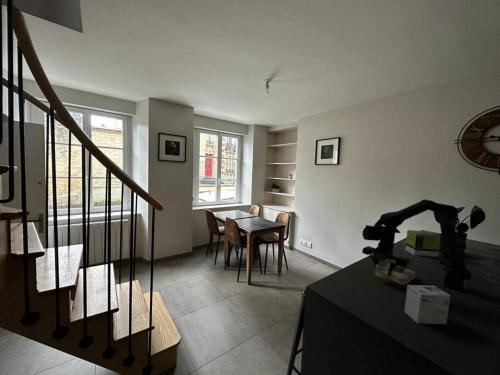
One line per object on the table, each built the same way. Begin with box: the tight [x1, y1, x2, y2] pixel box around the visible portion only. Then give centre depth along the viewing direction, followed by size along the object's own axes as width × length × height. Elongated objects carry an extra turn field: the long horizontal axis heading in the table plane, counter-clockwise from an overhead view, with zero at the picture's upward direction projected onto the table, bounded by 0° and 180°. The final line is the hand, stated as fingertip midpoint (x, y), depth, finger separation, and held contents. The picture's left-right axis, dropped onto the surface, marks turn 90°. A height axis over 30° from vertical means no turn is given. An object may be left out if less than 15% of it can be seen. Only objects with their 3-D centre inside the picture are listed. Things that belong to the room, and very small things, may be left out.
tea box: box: [405, 229, 440, 258], centre depth 147 cm, size 15×10×15 cm, turn 84°
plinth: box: [387, 262, 416, 286], centre depth 111 cm, size 12×14×3 cm
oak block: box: [374, 261, 391, 280], centre depth 103 cm, size 5×5×5 cm
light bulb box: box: [404, 284, 451, 325], centre depth 78 cm, size 11×7×11 cm, turn 92°
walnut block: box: [389, 260, 405, 273], centre depth 110 cm, size 5×5×5 cm
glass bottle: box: [437, 222, 467, 255], centre depth 153 cm, size 18×18×28 cm
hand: (383, 273), depth 103 cm, fingers closed on oak block, 5 cm apart
